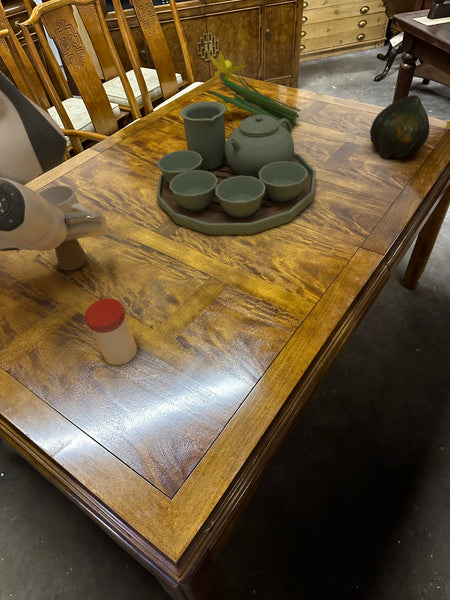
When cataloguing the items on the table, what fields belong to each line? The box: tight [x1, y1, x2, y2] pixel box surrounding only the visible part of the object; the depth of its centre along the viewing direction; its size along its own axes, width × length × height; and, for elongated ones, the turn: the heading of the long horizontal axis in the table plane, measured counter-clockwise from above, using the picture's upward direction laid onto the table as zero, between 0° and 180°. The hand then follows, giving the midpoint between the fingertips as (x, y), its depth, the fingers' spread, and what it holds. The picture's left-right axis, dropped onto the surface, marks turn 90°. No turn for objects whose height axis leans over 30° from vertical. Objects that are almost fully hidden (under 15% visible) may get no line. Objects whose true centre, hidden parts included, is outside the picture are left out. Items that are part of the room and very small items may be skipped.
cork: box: [53, 239, 88, 271], centre depth 86 cm, size 6×6×11 cm
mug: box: [37, 185, 91, 214], centre depth 96 cm, size 13×9×10 cm
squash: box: [369, 94, 430, 159], centre depth 111 cm, size 14×15×15 cm
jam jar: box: [90, 315, 138, 366], centre depth 70 cm, size 6×6×10 cm
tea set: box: [156, 100, 317, 236], centre depth 101 cm, size 40×40×16 cm
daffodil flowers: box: [205, 50, 301, 130], centre depth 131 cm, size 17×15×35 cm
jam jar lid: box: [84, 297, 127, 333], centre depth 66 cm, size 6×6×2 cm
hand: (63, 237), depth 87 cm, fingers closed on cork, 4 cm apart
